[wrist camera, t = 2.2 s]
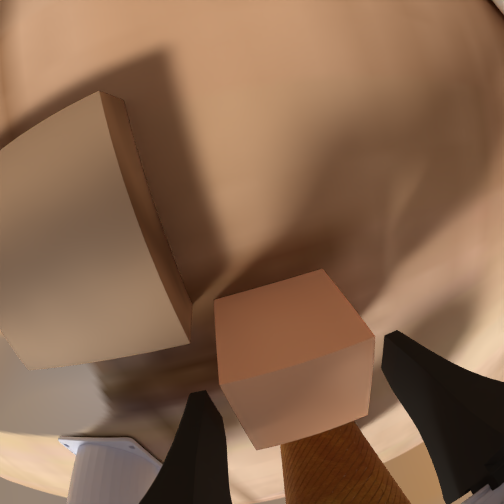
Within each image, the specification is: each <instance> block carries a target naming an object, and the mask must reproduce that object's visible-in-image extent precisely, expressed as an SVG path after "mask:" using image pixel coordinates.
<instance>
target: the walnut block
mask: <svg viewBox="0 0 504 504" xmlns="http://www.w3.org/2000/svg"><path fill="white" fill-rule="evenodd" d="M191 320H192V303H191V301H190V298H189V296H188V293H187V291H186V288H185V286H184V283H183V281H182V278H181V276H180V273H179V271H178V268H177V266H176V263H175V261H174V258H173V255H172V253H171V250H170V247H169V245H168V242H167V239H166V237H165V234H164V231H163V228H162V225H161V223H160V220H159V217H158V214H157V211H156V208H155V205H154V202H153V199H152V196H151V193H150V190H149V187H148V184H147V181H146V178H145V174H144V171H143V168H142V165H141V161H140V158H139V155H138V151H137V148H136V144H135V141H134V137H133V134H132V130H131V126H130V123H129V119H128V115H127V111H126V107H125V103H124V100H122V99H119V98H117V97H114V96H112V95H109V94H107V93H104V92H101V91H97V92H95V93H93V94H91V95H89V96H87V97H85V98H83V99H81V100H79V101H77V102H75V103H73V104H71V105H69V106H68V107H66V108H64V109H62V110H60V111H59V112H57V113H55V114H53V115H52V116H50V117H48V118H47V119H45V120H43V121H42V122H40V123H38V124H37V125H35V126H34V127H32V128H31V129H29V130H28V131H26V132H25V133H23V134H22V135H20V136H19V137H17V138H16V139H14V140H13V141H12V142H10V143H9V144H8V145H6V146H5V147H3V148H2V149H1V150H0V330H1V332H2V333H3V335H4V337H5V338H6V339H7V341H8V343H9V344H10V346H11V347H12V348H13V350H14V351H15V353H16V354H17V355H18V357H19V358H20V360H21V361H22V362H23V364H24V365H25V366H26V367H27V369H28V370H36V369H46V368H55V367H63V366H71V365H78V364H85V363H92V362H98V361H104V360H110V359H116V358H122V357H127V356H133V355H138V354H143V353H148V352H153V351H158V350H163V349H167V348H172V347H177V346H181V345H185V344H190V337H191Z"/></svg>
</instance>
